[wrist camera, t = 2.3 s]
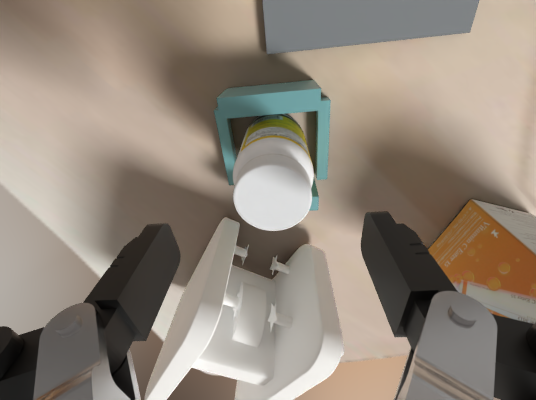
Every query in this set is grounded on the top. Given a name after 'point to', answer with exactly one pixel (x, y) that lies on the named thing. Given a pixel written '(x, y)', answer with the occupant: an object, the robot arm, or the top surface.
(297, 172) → the supplement bottle
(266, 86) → the teal corner cradle
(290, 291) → the cable organizer
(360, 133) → the top surface
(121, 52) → the top surface
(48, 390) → the robot arm
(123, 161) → the top surface
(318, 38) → the mat
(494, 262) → the small box
